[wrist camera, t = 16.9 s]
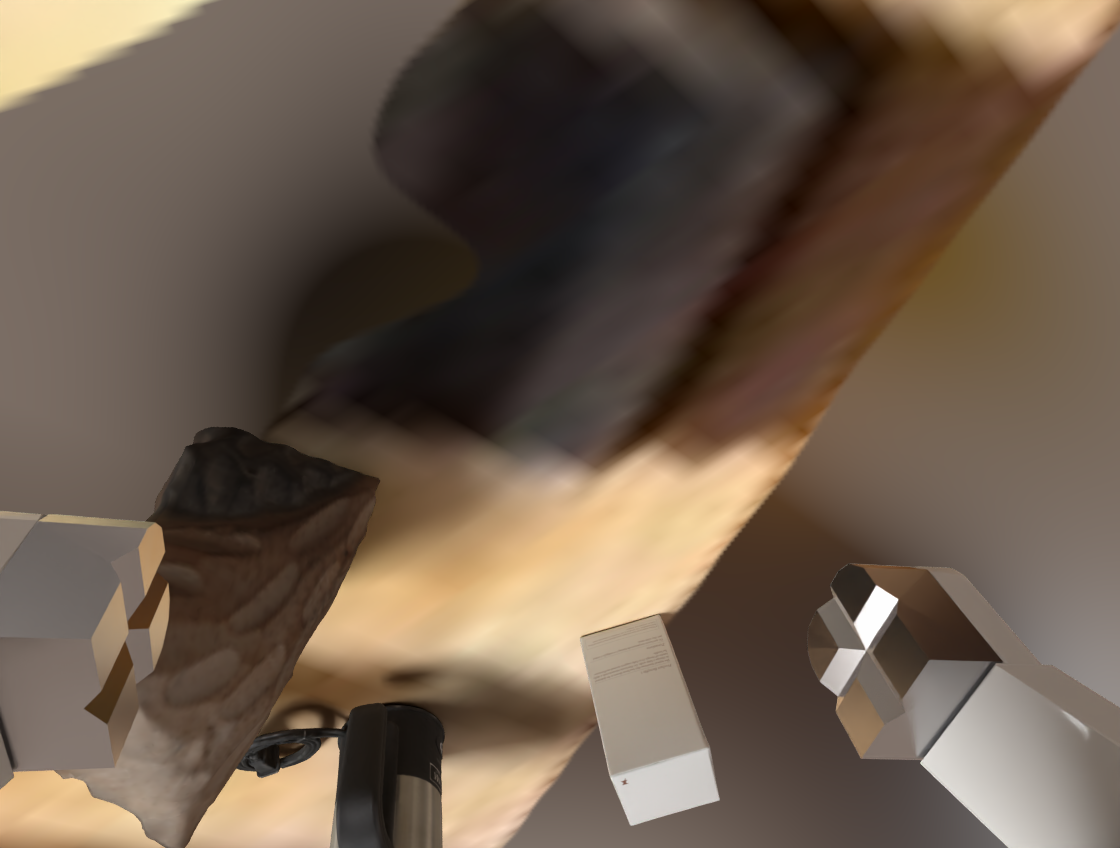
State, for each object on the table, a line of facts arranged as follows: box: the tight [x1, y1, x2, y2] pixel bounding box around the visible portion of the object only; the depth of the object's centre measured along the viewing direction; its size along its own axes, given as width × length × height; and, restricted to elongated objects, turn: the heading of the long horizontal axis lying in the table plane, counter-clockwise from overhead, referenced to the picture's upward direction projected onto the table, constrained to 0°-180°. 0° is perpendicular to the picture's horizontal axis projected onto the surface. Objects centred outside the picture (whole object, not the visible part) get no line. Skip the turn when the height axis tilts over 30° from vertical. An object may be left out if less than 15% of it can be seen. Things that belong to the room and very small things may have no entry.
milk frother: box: [236, 703, 445, 848], centre depth 57 cm, size 14×16×15 cm
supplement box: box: [580, 615, 720, 825], centre depth 57 cm, size 7×7×13 cm
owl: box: [54, 427, 380, 848], centre depth 40 cm, size 13×13×20 cm
